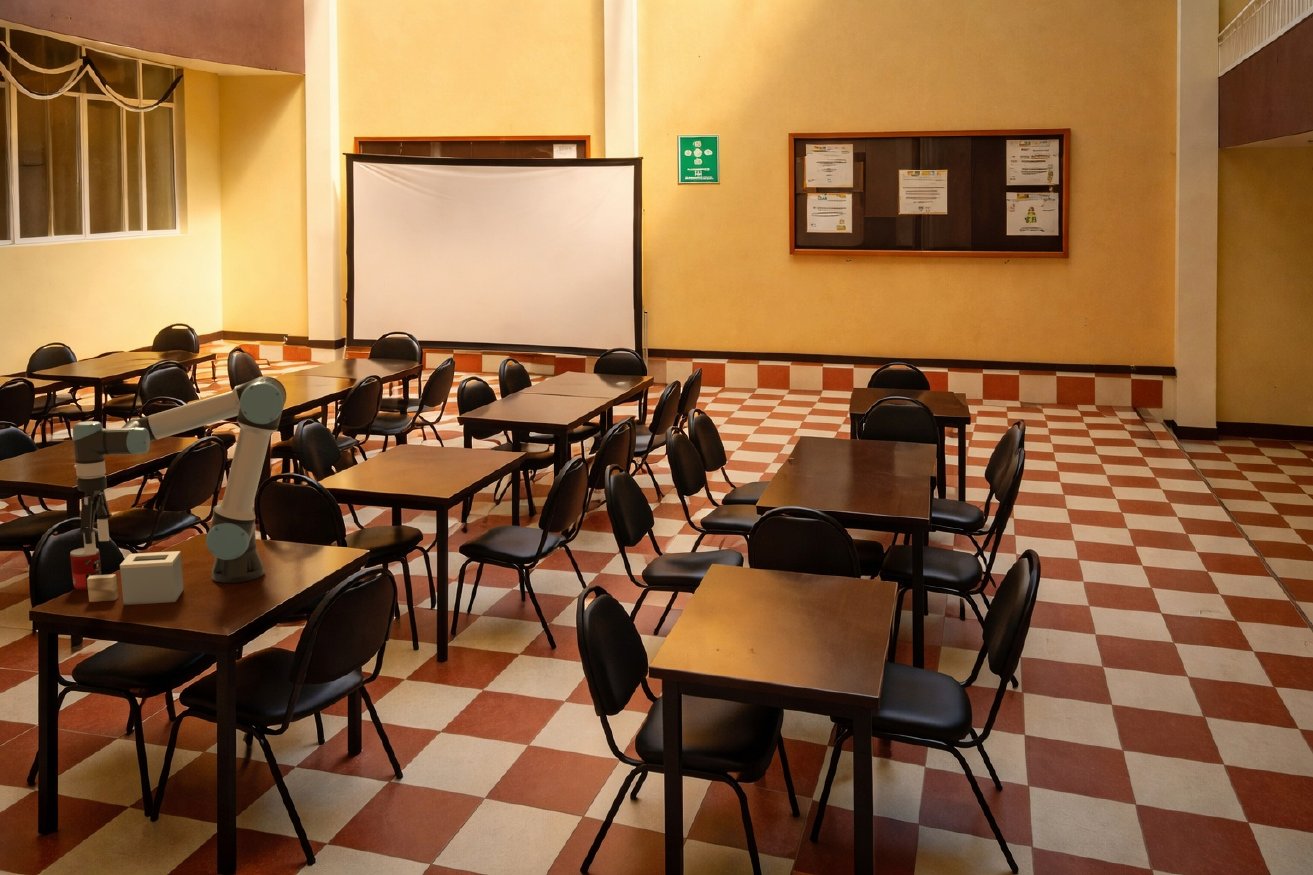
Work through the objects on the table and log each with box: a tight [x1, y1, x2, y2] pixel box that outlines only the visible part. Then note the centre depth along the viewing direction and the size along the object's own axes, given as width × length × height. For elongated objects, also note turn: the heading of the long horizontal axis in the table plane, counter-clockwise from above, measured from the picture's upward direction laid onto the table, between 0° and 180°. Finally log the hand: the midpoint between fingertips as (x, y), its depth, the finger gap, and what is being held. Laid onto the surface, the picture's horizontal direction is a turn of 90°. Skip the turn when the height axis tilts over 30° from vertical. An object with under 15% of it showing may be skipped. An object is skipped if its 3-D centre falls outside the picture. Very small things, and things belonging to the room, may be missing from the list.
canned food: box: [69, 547, 102, 591], centre depth 330 cm, size 8×8×11 cm
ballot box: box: [119, 550, 184, 606], centre depth 320 cm, size 14×11×12 cm
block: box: [87, 573, 119, 603], centre depth 318 cm, size 7×3×7 cm, turn 102°
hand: (97, 547), depth 316 cm, fingers open, 13 cm apart
